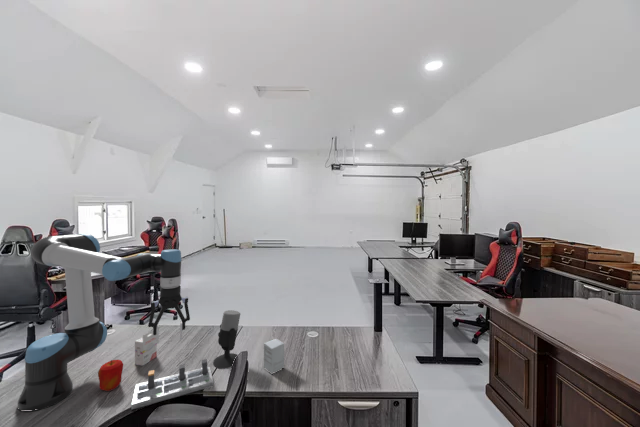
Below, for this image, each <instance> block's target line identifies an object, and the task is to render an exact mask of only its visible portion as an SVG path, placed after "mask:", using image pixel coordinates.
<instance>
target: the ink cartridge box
mask: <svg viewBox="0 0 640 427" xmlns="http://www.w3.org/2000/svg"><path fill="white" fill-rule="evenodd" d="M157 345H158V343H157V344H156V335H153V330H150V331H149V332H148V333H145V334H143V335H142V337H140V338H138V339H136V340H135V341H134V365H136V366H142V367H143V366H144V365H146V364H147V363H149V362H151V361H152V360H154V359H155V358H157V356H158V354H157V351H158V350H157V348H158V346H157Z"/></svg>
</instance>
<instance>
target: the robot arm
mask: <svg viewBox="0 0 640 427" xmlns="http://www.w3.org/2000/svg"><path fill="white" fill-rule="evenodd" d="M100 245H101V244H100V242H99V240H98V239H97V238H96V237H95V236H93V235H92V234H88V233H77V234H75V233H74V234H73V233H72V234H61V235H51V236H46V237H42V238H40V239H39V240H38V241H36V242H35V243H34V244H33V245H32V246H31V249H30V256H31V258H32V259H33V260H34V262H36V263H38V264H40V265H43V266H44V265H45V266H48V267H58V266H59V267H60V268H62V269H64V277H65V289H66V301H67V302H66V303H67V312H68V324H67V325H66V326H65V327H64V332H57V333H53V334H50V335H46V336H43V337H41V338H39V339H36V340H35V341H33V342H31V343H30V345H28V347H27V349H26V351H25V356H24V362H25V367H24V368H25V369H24V370H25V371H24V374H25V375H24V376H25V377H24V387H23V389H22V391H21V394H20V395H19V398H18V400H17V409H18V408H19V409H20V410H35V409H40V410H42V408H43V409H46V408H48V406H49V407H51V406H53V405H56V404H58V403H59V402H61V401H62V400H64V399H66V398H67V397H68V396H70V394H71V393H72V391H73V388H74V387H73V384H74V383H73V380H72V379H71V377H70V375H69V373H68V364H69V363H70V362H72V361H74V360H77V359H78V358H80V357H82V356H84V355H86V354H89V353H91V352H93V351H95V350H96V349H97V348H99V347H101V346H102V345H103V344H104V343H105V342H106V339H107V336H108V328H107V326H106V325H105V323H104V322H102V321H100V318H99V317H96V316H95V305H94V304H95V303H94V292H93V280H92V273H95V274H97V275H98V274H100V275H102V276H103V277H104V279H106V280H107V281H110V282H115V281H120V280H121V281H122V280H125V279H128V278H131V277H135V276H139V275H141V274H146V273H148V272H156V273H160V279H159V280H160V282H159V284H160V289H159V290H160V291H159V299H157V300H156V301H155V300H152V301H151V304H150V305H151V306H150V307H151V310H150V315H149V320H148V326H147V327H148V328H153V329H152V331H153V335H156V344H157V345H158V344H159V342H160V341H159V340H160V325H159V322H160V321H161V319H162V316H163V315H164V313H165V311H166V310H170V309H174V310H175V311H176V313H177V315H178V317H179V318H180V324H179V339H180V340H181V339H183V331H184V330H185V329H186V322H188V321H190V320H191V317H190V315H191V314H190V310H189V305H188V304H189V297H188V296H185V297H182V295H181V293H182V292H181V290H182V289H181V282H182V276H181V275H182V273H181V272H182V271H181V270H182V261H183V260H182V252H181V250H180V249H176V248H174V249H173V248H172V249H171V248H170V249H162V250H161V252H160V253H150V252H143V253H142V252H141V253H138V254H137V255H135V256H128V257H122V256H121V257H120V256H116V255H111V254H105V253H101V252H100V251H101V246H100ZM181 301H182V303H183V304H184V309H185V315H186V316H184V313H183V311H182V310H181V308H180V306H179V304H180V302H181ZM158 304H159V305H161V308H160V310H159V313H158V315H157V317H156V318H155V321H154V316H155V311H156V308H157V306H158ZM153 321H154V322H153ZM45 407H46V408H45Z"/></svg>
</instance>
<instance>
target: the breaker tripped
mask: <svg viewBox="0 0 640 427" xmlns="http://www.w3.org/2000/svg"><path fill="white" fill-rule="evenodd" d="M154 380H155V369H153V370H148V374H147V381H148V385H147V389H149V388H153V387H156V383H154Z"/></svg>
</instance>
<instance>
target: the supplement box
mask: <svg viewBox="0 0 640 427" xmlns="http://www.w3.org/2000/svg"><path fill="white" fill-rule="evenodd" d="M264 368H266V369H267V370H268V371H270V372H271V373H273V372H276V371H278V370H280V369H282V368H284V369H285V343H284V342H283V341H281V340H280V339H278V338H274V339H272V340H271V339H270V340H269V341H265V342H264V343H263V369H264Z"/></svg>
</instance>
